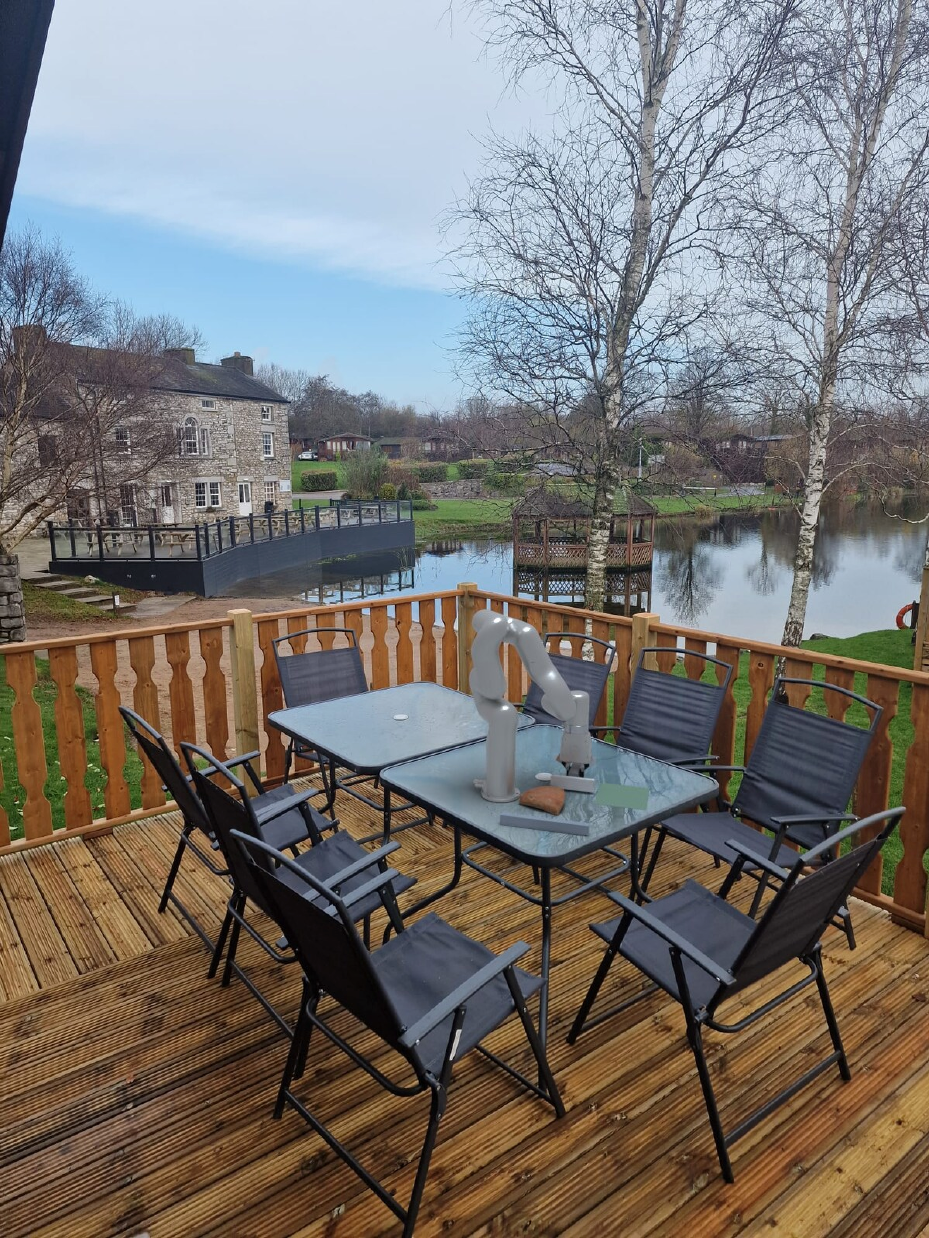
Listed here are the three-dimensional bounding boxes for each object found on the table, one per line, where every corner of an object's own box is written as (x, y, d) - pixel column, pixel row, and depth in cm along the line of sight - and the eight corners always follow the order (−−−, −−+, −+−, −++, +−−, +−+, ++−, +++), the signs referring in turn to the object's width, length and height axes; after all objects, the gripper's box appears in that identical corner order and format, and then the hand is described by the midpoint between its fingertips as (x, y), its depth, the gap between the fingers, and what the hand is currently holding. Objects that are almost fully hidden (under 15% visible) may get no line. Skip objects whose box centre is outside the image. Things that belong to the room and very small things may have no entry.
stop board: (499, 824, 224) (500, 814, 224) (501, 821, 226) (501, 812, 225) (588, 835, 217) (588, 826, 216) (589, 832, 219) (589, 823, 218)
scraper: (550, 787, 249) (550, 772, 248) (557, 772, 261) (557, 758, 260) (593, 792, 245) (594, 777, 244) (597, 777, 258) (598, 763, 257)
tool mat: (594, 804, 238) (594, 803, 238) (600, 783, 255) (600, 782, 255) (646, 811, 233) (646, 810, 233) (649, 789, 250) (649, 788, 250)
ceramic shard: (583, 787, 239) (557, 809, 228) (582, 804, 241) (555, 827, 230) (544, 770, 247) (517, 790, 237) (543, 787, 250) (516, 808, 239)
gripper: (550, 729, 249) (548, 782, 252) (600, 734, 245) (598, 787, 248) (554, 722, 256) (552, 774, 259) (602, 727, 252) (600, 779, 255)
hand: (574, 780), depth 254 cm, fingers closed on scraper, 3 cm apart
